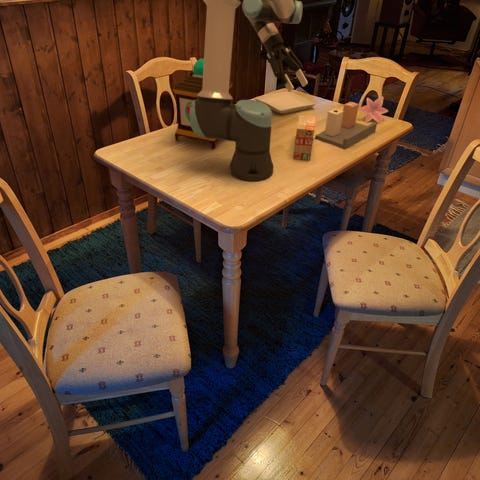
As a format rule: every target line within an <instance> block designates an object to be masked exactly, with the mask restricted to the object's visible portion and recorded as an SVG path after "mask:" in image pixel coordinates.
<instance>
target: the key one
mask: <svg viewBox="0 0 480 480" xmlns="http://www.w3.org/2000/svg"><path fill="white" fill-rule="evenodd" d="M343 112H344V111H343V110H340V109H337V108H334V109H331V110H329V111H328V112H327V116H326V124H325V129H324V131H325V134H327V135H330V136H335V135H337V134H339V133H340V129H341V123H342V118H343Z"/></svg>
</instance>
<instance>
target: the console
mask: <svg viewBox="0 0 480 480" xmlns="http://www.w3.org/2000/svg"><path fill="white" fill-rule="evenodd" d="M377 125H378V122H377V121H373V122H371V123H369V124H368V125H365V124H363V123H359V122H357V121H356V122H355V125H354V126H352V127H350V128H346V127H343V126H341V129H340V133H339V134H337V135H335V136H330V135H327V134H325V130H323V131H321V132H319V133H318V134H315V135H314V136H315V137H314V139H315V140H317V141H320V142H323V143H325V144H330V145H331V146H334V147H338V148H340V149H342V150H347V149H349V148H350V147H351V146H353V145H355V144H357V143H359V142H360V141H362V140H363V139H366V138H367V137H369V136H371V135H372V134H374V133H375V132H376V129H377Z"/></svg>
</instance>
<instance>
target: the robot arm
mask: <svg viewBox="0 0 480 480" xmlns="http://www.w3.org/2000/svg"><path fill="white" fill-rule="evenodd" d="M202 1H203V3H205V5H206V15H205V17H206V19H205V21H206V22H205V32H204V33H205V34H204V35H205V36H204V52H203V53H204V54H203V59H204V67H203V84H202V91H201V92H199V93H198V94H197V100H194V101H193V102H192V103H191V108H190V124H191V128H192V130H193V132H194V133H195V134H196V135H197V136H200V137H205V138H212V139H219V140H218V141H220V140H221V141H227V142H234V143H235V146H234V148H235V149H234V152H233V155H232V158H231V160H230V163H229V172H230V175H232V176H233V177H235V178H236V179H239V180H241V181H244V182H245V181H247V182H259V181H265V180H266V179H269V178H271V176H272V175H273V174H274V167H275V166H274V162H273V161H272V160H273V159H272V156H271V151H270V150H271V149H270V148H271V136H272V126H273V121H272V119H273V113H272V112H273V111H272V109H270V108H269V107H268V106H267V105H266V104H264V103H262V102H259V101H256V100H254V99H241V100H238V101H237V102H236V103H235V104H233V99H234V98H233V96H232V95H231V93H230V94H229V80H230V79H231V78H230V77H231V67H232V66H231V65H232V64H231V63H232V54H233V42H234V31H235V15H236V9H237V8H238V7H239V6H241V7H242V8H241V9H242V12H243V14H244V16H245V17H246V18H247V19H248V21H249V22H250V24H251V25H252V27H253V29H254V30H255V32H256V34H257V36H258V37H259V38H260V41H261V42H262V44H263V46H264V49H265V50H266V52H267V54H266V55H265V57H266V58H267V60H268V62H269V65H270V68H271V70H272V73H273V75H274V77H275V78H276V79H278V80H279V79H280V80H281V82H282V83H283V84H284V86H285V88H286V90H287V91H288V92H292V90H294V88H295V87H294V85H293V84H292V82H291V80H290V78H289V76H288V75H287V73H285V71H284V66H283V65H284V64H283V62H285V63H286V64H287V65H289V66H290V68H292V70H293V71H294V72H295V73H294V74H295V76H296V77H297V80H298V81H299V82H300V84H301V86H302V87H306V85H309V84H308V83H309V82H308V80H307V78H306V77H305V74H304V73H303V70H302V68H303V67H304V66H303V63H301V61H300V60H299V58H298V57H297V56H296V54H295V53H294V52H293V50H292V47H291V46H288V47H285V45H284V39H283V38H282V36H281V33H279V30H278V29H277V26H276V25H275V23H280V24H281V23H283V24H290V25H291V24H296V25H298V24H300V22H301V20H302V16H303V8H304V6H303V3H302V1H299V0H243V2H242V0H202ZM241 4H242V5H241ZM230 81H231V80H230Z"/></svg>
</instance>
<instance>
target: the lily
mask: <svg viewBox="0 0 480 480" xmlns="http://www.w3.org/2000/svg"><path fill="white" fill-rule="evenodd" d="M383 103H384V96H379V97H378V98H377V99H375V100H374V101H373V100H372V99H370V98H369V97H366V105H363V106H361V107H358V111H359V112H360V113H363V114H365V121H364V122H365V123H366V124H367V123H368V122H370V121H371V120H372V119H373V120H374V122H376V123H377V124H379V125H382V123H383V116H382V115H383V114H385V113H388V112H389V110H388V109H386V108H385V107H382V106H383Z"/></svg>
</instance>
